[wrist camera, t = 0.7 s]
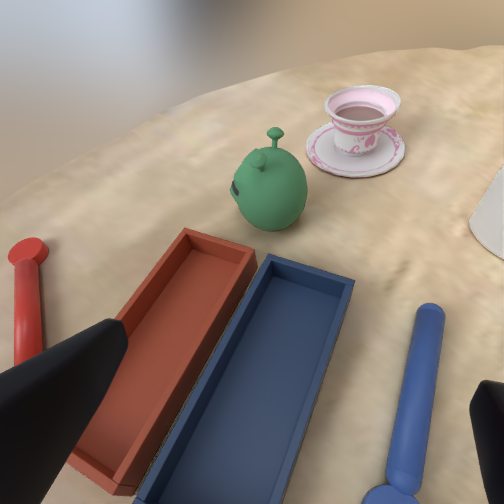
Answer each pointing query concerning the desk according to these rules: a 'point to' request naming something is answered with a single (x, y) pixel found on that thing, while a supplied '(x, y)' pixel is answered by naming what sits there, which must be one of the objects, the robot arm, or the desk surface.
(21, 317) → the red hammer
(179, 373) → the far bin
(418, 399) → the blue spoon
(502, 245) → the eye dropper bottle
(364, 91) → the teacup
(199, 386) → the near bin
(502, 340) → the desk surface
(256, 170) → the alien toy
